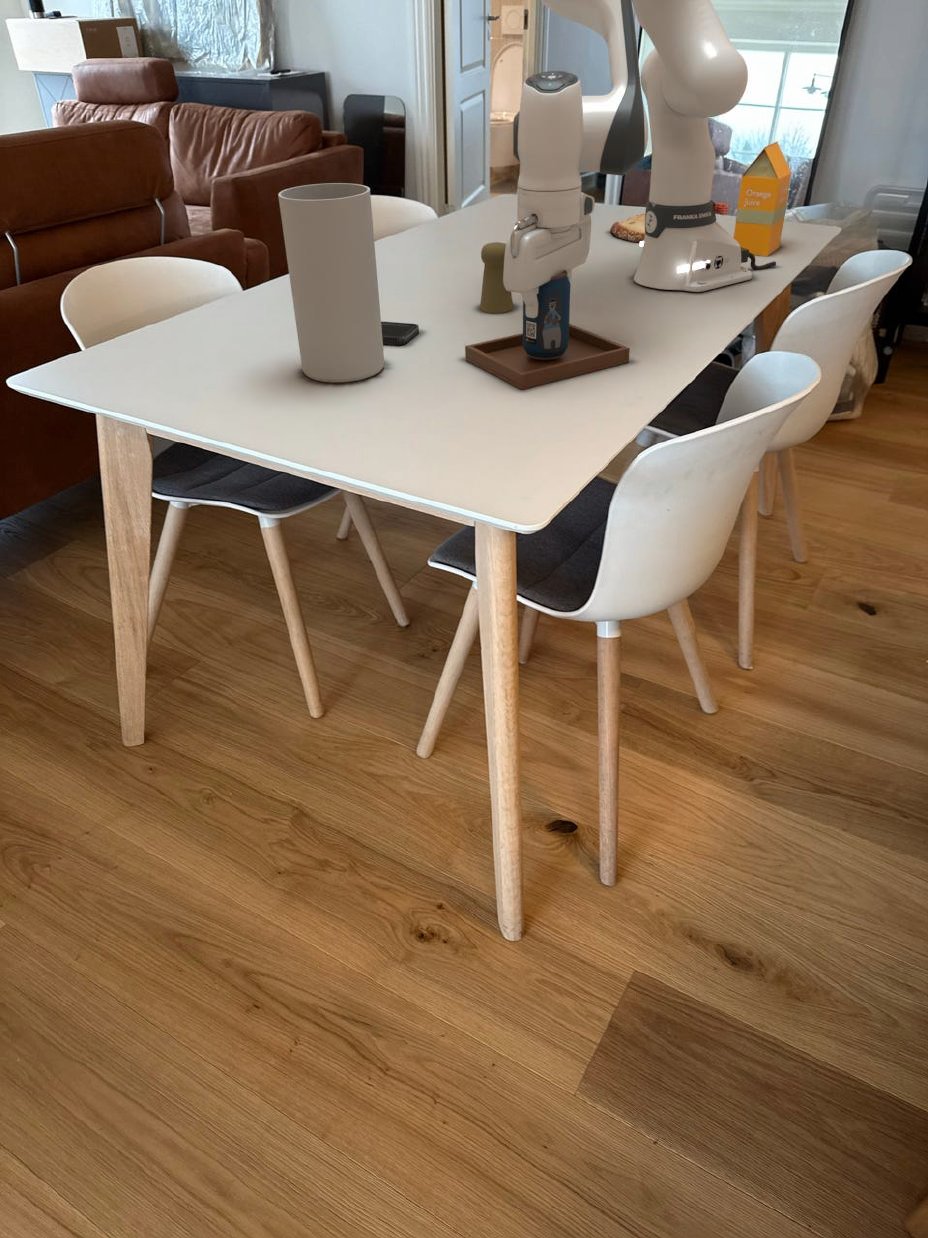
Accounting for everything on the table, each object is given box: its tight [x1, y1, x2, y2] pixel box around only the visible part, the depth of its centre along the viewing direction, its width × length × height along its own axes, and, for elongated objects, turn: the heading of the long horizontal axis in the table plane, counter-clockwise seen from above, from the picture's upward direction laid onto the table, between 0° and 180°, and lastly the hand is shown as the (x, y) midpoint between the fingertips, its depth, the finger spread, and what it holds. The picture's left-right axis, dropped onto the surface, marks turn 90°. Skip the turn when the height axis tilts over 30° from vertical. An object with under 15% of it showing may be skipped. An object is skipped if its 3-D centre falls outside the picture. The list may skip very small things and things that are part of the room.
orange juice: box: [733, 141, 792, 257], centre depth 186 cm, size 8×9×20 cm
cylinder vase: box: [277, 182, 385, 384], centre depth 131 cm, size 12×12×25 cm
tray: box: [464, 323, 631, 390], centre depth 138 cm, size 20×16×2 cm
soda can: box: [522, 270, 572, 360], centre depth 134 cm, size 7×7×12 cm
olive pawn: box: [479, 241, 514, 314], centre depth 159 cm, size 6×6×11 cm
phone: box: [381, 320, 420, 346], centre depth 151 cm, size 8×1×15 cm
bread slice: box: [609, 213, 645, 243], centre depth 203 cm, size 18×18×4 cm
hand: (546, 308), depth 134 cm, fingers closed on soda can, 7 cm apart
